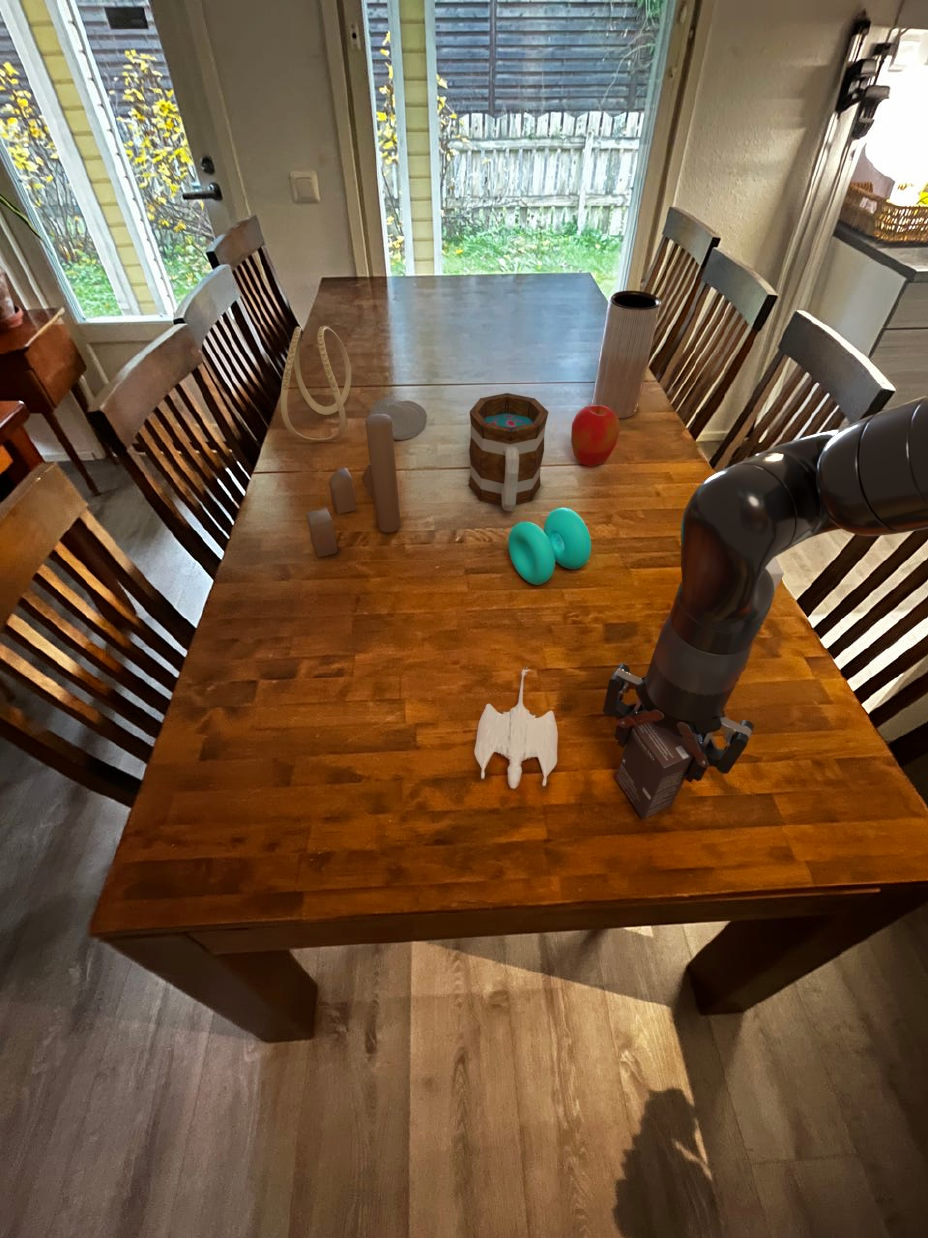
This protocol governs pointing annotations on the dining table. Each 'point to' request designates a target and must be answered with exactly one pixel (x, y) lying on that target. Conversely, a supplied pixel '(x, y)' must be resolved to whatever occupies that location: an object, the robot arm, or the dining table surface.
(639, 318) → the planter
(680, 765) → the box
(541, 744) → the white dragon
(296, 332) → the beige looped band
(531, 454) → the mug
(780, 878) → the dining table surface
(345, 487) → the wooden blocks
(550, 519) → the turquoise yo-yo
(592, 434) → the apple
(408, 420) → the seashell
